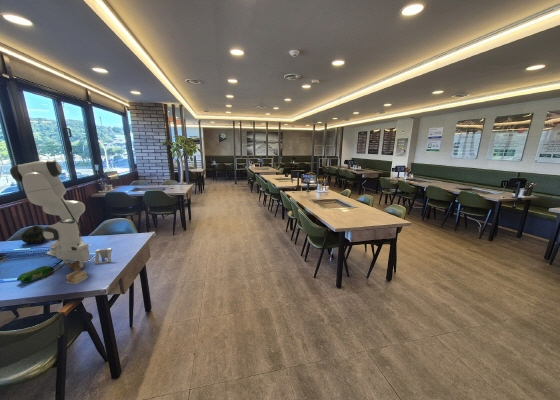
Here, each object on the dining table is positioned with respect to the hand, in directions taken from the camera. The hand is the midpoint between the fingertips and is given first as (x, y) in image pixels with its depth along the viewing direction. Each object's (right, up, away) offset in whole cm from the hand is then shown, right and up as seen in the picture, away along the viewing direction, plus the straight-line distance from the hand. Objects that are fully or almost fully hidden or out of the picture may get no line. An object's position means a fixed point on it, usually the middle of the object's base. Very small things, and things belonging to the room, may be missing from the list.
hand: (74, 266), depth 140 cm
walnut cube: (0, -3, +2) cm, 3 cm away
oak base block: (+11, -5, -10) cm, 16 cm away
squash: (-69, +7, +42) cm, 81 cm away
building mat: (+9, -5, -9) cm, 14 cm away
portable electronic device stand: (+9, -1, +13) cm, 15 cm away
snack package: (-14, -5, -8) cm, 17 cm away
